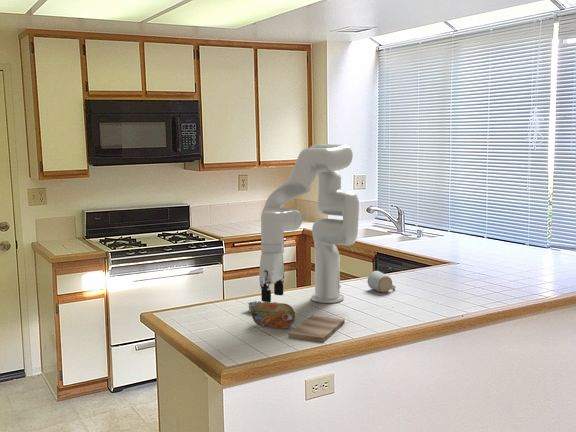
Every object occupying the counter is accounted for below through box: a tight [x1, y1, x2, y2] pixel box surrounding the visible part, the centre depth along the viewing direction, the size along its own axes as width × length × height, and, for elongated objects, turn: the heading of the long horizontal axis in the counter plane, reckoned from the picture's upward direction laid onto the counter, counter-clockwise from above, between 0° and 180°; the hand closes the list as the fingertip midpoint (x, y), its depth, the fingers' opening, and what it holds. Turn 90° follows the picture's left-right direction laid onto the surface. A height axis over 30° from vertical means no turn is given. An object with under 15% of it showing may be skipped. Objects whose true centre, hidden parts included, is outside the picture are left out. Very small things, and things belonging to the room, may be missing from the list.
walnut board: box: [288, 314, 346, 343], centre depth 210 cm, size 20×12×2 cm, turn 156°
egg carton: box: [246, 300, 278, 313], centre depth 231 cm, size 11×8×4 cm
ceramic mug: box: [367, 270, 397, 293], centre depth 258 cm, size 11×8×8 cm
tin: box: [251, 301, 296, 330], centre depth 214 cm, size 15×3×8 cm, turn 70°
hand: (272, 298), depth 213 cm, fingers open, 9 cm apart
